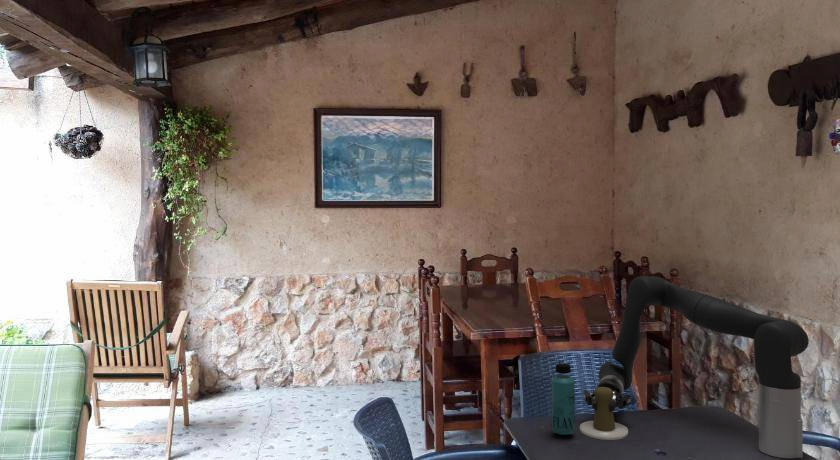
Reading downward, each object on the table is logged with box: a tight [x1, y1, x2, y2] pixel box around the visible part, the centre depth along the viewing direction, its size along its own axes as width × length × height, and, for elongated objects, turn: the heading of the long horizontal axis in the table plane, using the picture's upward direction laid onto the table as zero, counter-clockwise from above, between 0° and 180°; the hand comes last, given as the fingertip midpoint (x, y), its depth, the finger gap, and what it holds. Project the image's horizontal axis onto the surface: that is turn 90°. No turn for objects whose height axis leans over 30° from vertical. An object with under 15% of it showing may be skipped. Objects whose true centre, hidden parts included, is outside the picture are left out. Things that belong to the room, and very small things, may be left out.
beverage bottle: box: [550, 362, 576, 435], centre depth 168 cm, size 6×7×20 cm
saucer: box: [579, 419, 629, 441], centre depth 171 cm, size 13×13×1 cm
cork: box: [593, 387, 615, 431], centre depth 171 cm, size 6×6×11 cm
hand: (602, 407), depth 169 cm, fingers closed on cork, 3 cm apart
